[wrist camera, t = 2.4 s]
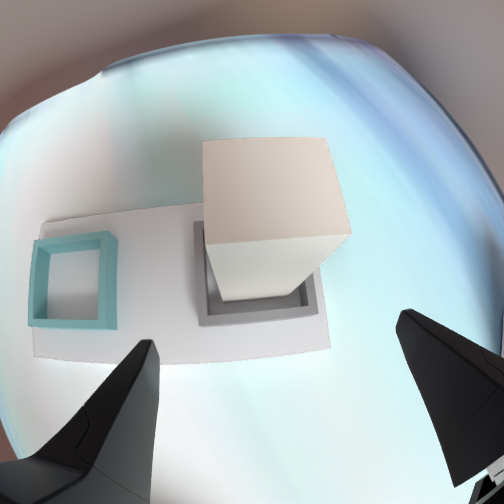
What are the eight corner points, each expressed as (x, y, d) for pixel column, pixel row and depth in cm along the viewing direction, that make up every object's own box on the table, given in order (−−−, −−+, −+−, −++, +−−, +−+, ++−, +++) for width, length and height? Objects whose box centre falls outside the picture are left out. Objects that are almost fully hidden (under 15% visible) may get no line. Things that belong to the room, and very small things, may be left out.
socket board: (303, 201, 23) (311, 183, 20) (326, 347, 20) (340, 348, 17) (47, 227, 21) (30, 215, 18) (40, 356, 18) (19, 356, 15)
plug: (286, 297, 20) (351, 233, 8) (223, 303, 19) (205, 245, 8) (277, 236, 21) (320, 122, 10) (218, 240, 21) (202, 125, 9)
